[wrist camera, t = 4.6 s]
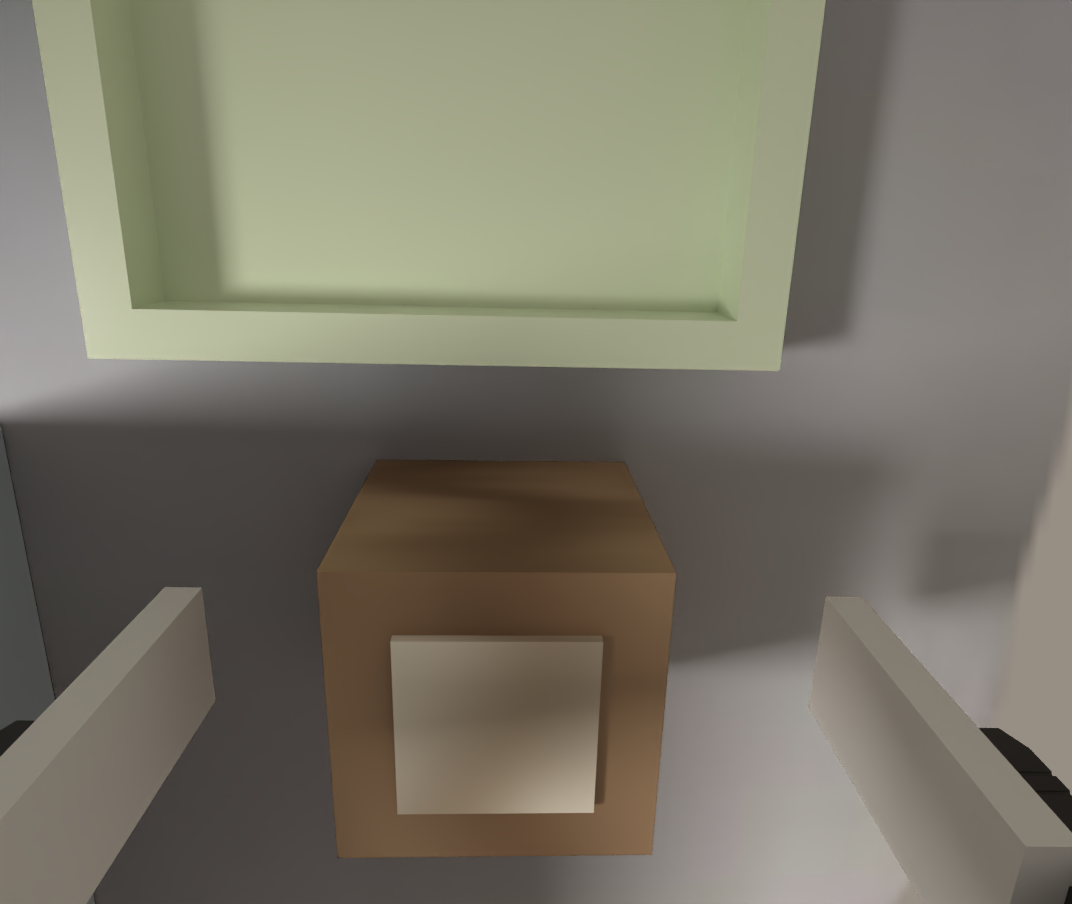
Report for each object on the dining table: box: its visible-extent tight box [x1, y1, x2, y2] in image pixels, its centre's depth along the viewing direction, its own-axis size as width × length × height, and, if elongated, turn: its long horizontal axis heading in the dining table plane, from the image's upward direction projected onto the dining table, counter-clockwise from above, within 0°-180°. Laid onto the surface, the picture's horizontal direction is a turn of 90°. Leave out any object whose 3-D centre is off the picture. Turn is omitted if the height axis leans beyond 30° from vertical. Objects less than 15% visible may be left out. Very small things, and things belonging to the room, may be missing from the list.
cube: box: [316, 459, 676, 858], centre depth 16 cm, size 6×6×6 cm
